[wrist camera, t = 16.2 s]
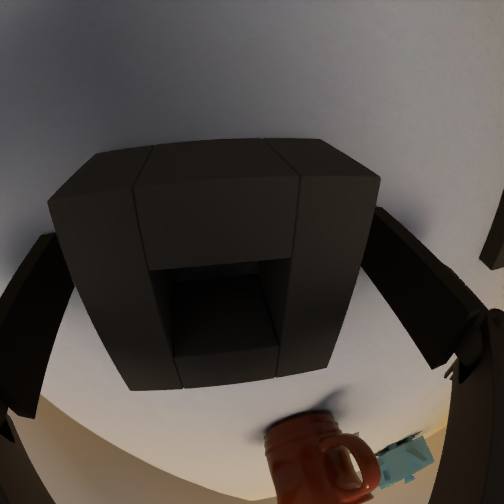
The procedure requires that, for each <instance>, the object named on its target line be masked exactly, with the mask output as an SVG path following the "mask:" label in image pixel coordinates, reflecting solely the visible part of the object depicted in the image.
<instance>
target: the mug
mask: <svg viewBox="0 0 504 504" xmlns="http://www.w3.org/2000/svg"><path fill="white" fill-rule="evenodd" d="M264 439H265V444H264V447H265V456H266V458H267V462H268V466H269V470H270V474H271V477H272V480H273V483H274V486H275V490H276V494H277V503H278V504H361V503H364V502H366V501H369V500H370V499H373V498H374V496H373V495H372V494H371V493H370V492H371V491H373V490H374V489H375V488H376V487H377V486H378V484H379V482H380V480H381V470H380V466H379V463H378V461H377V459H376V457H375V455H374V453H373V451H372V450H371V448H370V447H369V446H368V445H367V444H366V443H365V442H364V441H363V440H362V439H361V438H359V437H358V436H356V435H353V434H348V433H342V431H341V430H340V429H339V426H338V423H337V422H336V421H335V420H334V418H333V417H332V416H331V415H329V414H326V413H322V412H313V413H306V414H301V415H297V416H294V417H291V418H288V419H286V420H283V421H281V422H279V423H277V424H276V425H274V426H273V427H272V428H271V429H270V430H269V431H268V432H267V433H266V435H265V437H264ZM347 448H348V449H349V451H350V452H351V453H352V455H353V456H354V458H355V460H356V462H357V464H358V466H359V468H360V471H361V474H362V478H363V483H362V482H361V480H360V479H359V478H358V476H357V474H356V472H355V470H354V467H353V465H352V462H351V458H350V455H349V452H348V449H347Z"/></svg>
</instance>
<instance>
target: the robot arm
mask: <svg viewBox="0 0 504 504" xmlns="http://www.w3.org/2000/svg"><path fill="white" fill-rule="evenodd" d="M361 267H362V269H363V270H364V271H365V273H366V274H367V275H368V277H369V278H370V279H371V281H372V282H373V283H374V285H375V286H376V287H377V289H378V290H379V292H380V293H381V294H382V296H383V297H384V299H385V300H386V301H387V303H388V304H389V306H390V307H391V309H392V310H393V311H394V313H395V314H396V316H397V317H398V319H399V320H400V322H401V323H402V325H403V326H404V327H405V329H406V330H407V332H408V333H409V335H410V336H411V338H412V339H413V341H414V343H415V344H416V346H417V347H418V349H419V350H420V352H421V353H422V355H423V357H424V358H425V360H426V361H427V363H428V365H429V366H430V368H431V369H432V370H433V369H435V368H437V367H439V366H441V365H444V364H446V363H447V361H448V360H449V359H450V357H451V356H452V355H453V353H455V354H456V356H457V359H456V360H455V361H454V363H453V364H452V365H451V367H450V368H449V369H448V370H447V372H446V373H445V375H444V378H447V377H448V376H449V374H450V373H451V372H452V371H453V375H452V376H451V377H450V379H449V380H452V392H451V401H450V409H449V417H448V423H447V430H446V435H445V441H444V446H443V451H442V455H441V460H440V464H439V468H438V472H437V476H436V480H435V484H434V487H433V490H432V493H431V497H430V500H429V503H428V504H504V311H502V310H500V309H495V308H494V309H490V310H488V309H487V308H486V307H485V306H484V304H483V303H482V302H481V301H480V300H479V299H478V297H477V296H476V295H475V294H474V293H473V292H472V291H471V290H470V289H469V287H468V286H467V285H466V286H465V283H464V282H463V281H462V280H461V279H459V277H458V276H457V275H456V274H455V273H454V272H453V270H452V269H451V268H449V267H448V266H446V265H445V264H443V263H442V262H441V261H440V260H439V259H438V258H437V257H436V256H435V255H434V254H433V253H432V252H431V251H429V250H428V249H427V248H426V247H425V246H424V245H423V244H422V243H421V242H420V241H419V240H418V239H417V238H416V237H415V236H414V235H413V234H412V233H410V232H409V231H408V230H407V229H406V228H405V227H404V226H403V225H402V224H401V223H399V222H398V221H397V220H396V219H395V218H394V217H393V216H392V215H390V214H389V213H388V212H387V211H386V210H385V209H383V208H382V207H375V210H374V214H373V219H372V223H371V227H370V231H369V235H368V239H367V243H366V247H365V251H364V255H363V259H362V262H361ZM74 287H75V286H74V283H73V281H72V278H71V276H70V273H69V271H68V268H67V266H66V263H65V260H64V257H63V255H62V252H61V249H60V246H59V243H58V240H57V237H56V234H55V233H52V234H45V235H41V236H40V237H39V238H38V240H37V241H36V243H35V244H34V245H33V247H32V248H31V250H30V251H29V253H28V254H27V256H26V257H25V259H24V260H23V262H22V263H21V265H20V266H19V268H18V269H17V271H16V272H15V274H14V276H13V277H12V279H11V281H10V282H9V284H8V285H7V287H6V289H5V291H4V292H3V294H2V296H1V298H0V504H56V503H55V502H54V500H53V499H52V497H51V496H50V494H49V493H48V491H47V489H46V488H45V486H44V484H43V483H42V481H41V479H40V477H39V476H38V474H37V472H36V470H35V468H34V466H33V465H32V463H31V461H30V459H29V457H28V455H27V453H26V451H25V449H24V446H23V444H22V442H21V440H20V438H19V435H18V433H17V431H16V429H15V426H14V424H13V421H12V419H11V418H10V416H9V415H8V414H7V410H8V407H9V408H10V409H11V410H12V411H14V412H15V413H16V414H17V415H18V416H21V417H26V418H31V419H35V415H36V410H37V404H38V401H39V396H40V392H41V388H42V384H43V380H44V376H45V372H46V368H47V365H48V361H49V358H50V354H51V351H52V348H53V345H54V341H55V338H56V335H57V332H58V329H59V326H60V323H61V321H62V318H63V315H64V312H65V310H66V307H67V304H68V302H69V299H70V296H71V294H72V291H73V289H74Z"/></svg>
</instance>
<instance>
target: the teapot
mask: <svg viewBox="0 0 504 504" xmlns="http://www.w3.org/2000/svg"><path fill="white" fill-rule="evenodd" d="M412 439H413V435H412V436H410V437H408V438H407V439H405V444H404V445H402V444H400V445H398V446H397V443H394V444H392V445H390V446H388V448H389V450H390V451H388V452H386V451H383V452H381V453H379V454H377V455H378V456H380V457H379V458H378V459H377V461H378V463H379V466H380V470H381V480H380V482H379V484H378V486H377V487H380V488H381V489H383V488H385V487H387V486H388V487H389V486H391V485H393V484H394V483H396V482H398V481H400V480H402V479H404V478H405V483H408V482H410V481H412V480H414V479H415V478H414V477H413V476H412V474H414V473H416V472H417V471H419V470H421V469H423V468H425V467H426V466H428V465H430V464H432V463H433V462H434V459H433V457H432V455H431V452H430V450H429V448H428V446H427V444H426V442H425V440H424V437H423V436H421V437H419V438H417V439H415V440H412Z"/></svg>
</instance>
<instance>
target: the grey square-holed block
mask: <svg viewBox="0 0 504 504" xmlns="http://www.w3.org/2000/svg"><path fill="white" fill-rule="evenodd" d="M380 181H381V178H380V176H378V175H377V174H375V173H374V172H372V171H371V170H369V169H368V168H366V167H365V166H363V165H362V164H360V163H359V162H357V161H355V160H354V159H352V158H351V157H349V156H347V155H346V154H344V153H343V152H341V151H339V150H338V149H336V148H334V147H333V146H331V145H329V144H328V143H326V142H324V141H322V140H321V139H296V138H264V139H261V138H246V139H220V140H203V141H190V142H178V143H168V144H159V145H155V146H154V145H151V146H143V147H135V148H128V149H122V150H115V151H109V152H103V153H97V154H95V155H94V156H93V157H91V158H90V159H89V160H88V161H87V162H86V163H85V164H84V165H83V166H82V167H81V168H80V169H78V170H77V171H76V172H75V173H74V174H73V175H72V176H71V177H70V178H69V179H68V180H67V181H66V182H65V183H64V184H63V185H62V186H61V187H60V188H59V189H58V190H57V191H56V192H55V193H54V194H53V195H52V197H51V198H50V199H49V200H48V201H47V204H48V207H49V211H50V214H51V218H52V221H53V224H54V228H55V231H56V234H57V237H58V240H59V243H60V246H61V249H62V251H63V254H64V257H65V260H66V262H67V265H68V268H69V270H70V273H71V275H72V278H73V280H74V283H75V285H76V288H77V290H78V292H79V295H80V297H81V299H82V301H83V304H84V306H85V308H86V310H87V312H88V315H89V317H90V319H91V321H92V323H93V325H94V327H95V329H96V331H97V333H98V335H99V337H100V339H101V341H102V343H103V345H104V346H105V348H106V350H107V352H108V354H109V356H110V357H111V359H112V361H113V363H114V365H115V366H116V368H117V370H118V371H119V373H120V375H121V376H122V378H123V380H124V381H125V383H126V385H127V386H128V388H129V389H130V391H149V390H173V389H183V387H184V388H185V389H186V388H199V387H210V386H220V385H229V384H237V383H244V382H252V381H258V380H265V379H271V378H274V377H276V378H278V377H283V376H289V375H294V374H299V373H304V372H309V371H314V370H319V369H323V368H326V367H327V366H328V363H329V360H330V358H331V355H332V352H333V350H334V347H335V344H336V341H337V339H338V336H339V333H340V330H341V327H342V324H343V321H344V318H345V315H346V312H347V309H348V306H349V303H350V300H351V296H352V293H353V290H354V287H355V283H356V280H357V276H358V273H359V269H360V266H361V262H362V259H363V255H364V251H365V247H366V243H367V239H368V235H369V231H370V227H371V223H372V219H373V214H374V210H375V205H376V201H377V196H378V191H379V186H380ZM251 261H258V276H257V274H252V275H242V276H232V277H222V278H211V279H201V280H190V281H178V282H175V283H174V280H173V275H172V269H175V268H186V267H197V266H208V265H219V264H230V263H240V262H251Z"/></svg>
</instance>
